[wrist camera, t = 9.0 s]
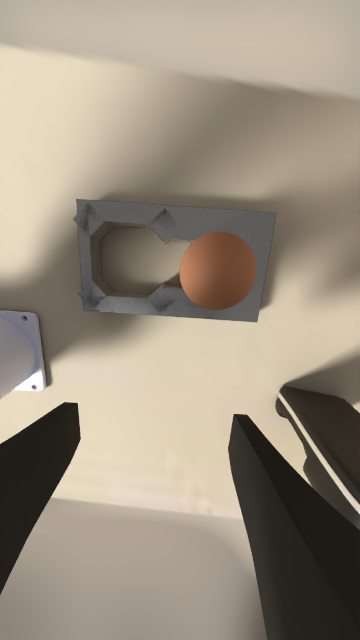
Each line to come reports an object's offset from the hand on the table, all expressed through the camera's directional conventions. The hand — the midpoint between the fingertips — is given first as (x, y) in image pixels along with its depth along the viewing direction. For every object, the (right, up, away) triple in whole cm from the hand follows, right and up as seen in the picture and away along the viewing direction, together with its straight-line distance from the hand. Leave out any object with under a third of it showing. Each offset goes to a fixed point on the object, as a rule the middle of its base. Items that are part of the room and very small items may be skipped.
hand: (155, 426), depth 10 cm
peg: (+3, +9, +8) cm, 13 cm away
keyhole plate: (+1, +10, +8) cm, 13 cm away
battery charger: (+14, -4, +12) cm, 19 cm away
